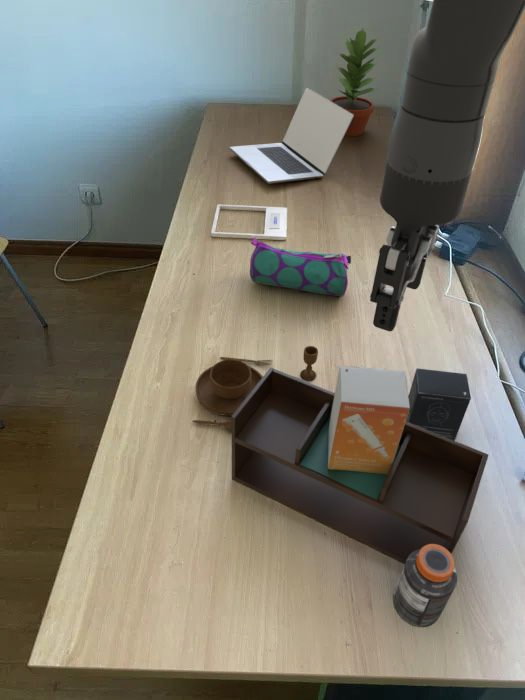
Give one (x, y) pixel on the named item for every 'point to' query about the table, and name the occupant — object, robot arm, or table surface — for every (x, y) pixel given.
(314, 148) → the laptop
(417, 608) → the pill bottle
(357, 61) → the potted plant
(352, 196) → the table surface
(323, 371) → the table surface
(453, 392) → the box
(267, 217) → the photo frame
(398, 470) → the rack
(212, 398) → the place setting
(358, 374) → the small box
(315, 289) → the pencil case
